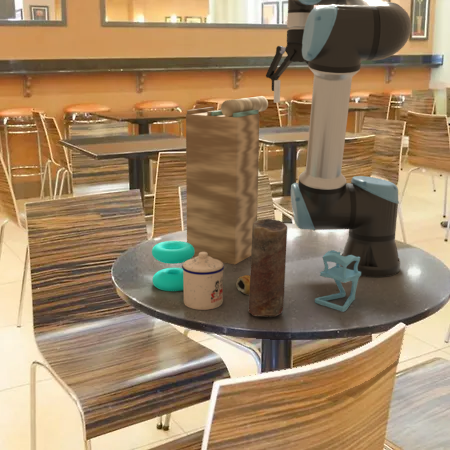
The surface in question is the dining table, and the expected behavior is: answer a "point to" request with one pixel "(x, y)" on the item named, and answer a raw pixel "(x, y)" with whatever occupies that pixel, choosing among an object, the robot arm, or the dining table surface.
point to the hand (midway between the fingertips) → (297, 103)
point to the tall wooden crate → (222, 182)
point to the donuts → (172, 255)
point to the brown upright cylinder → (267, 268)
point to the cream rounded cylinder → (244, 105)
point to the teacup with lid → (203, 282)
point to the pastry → (244, 284)
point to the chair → (340, 278)
